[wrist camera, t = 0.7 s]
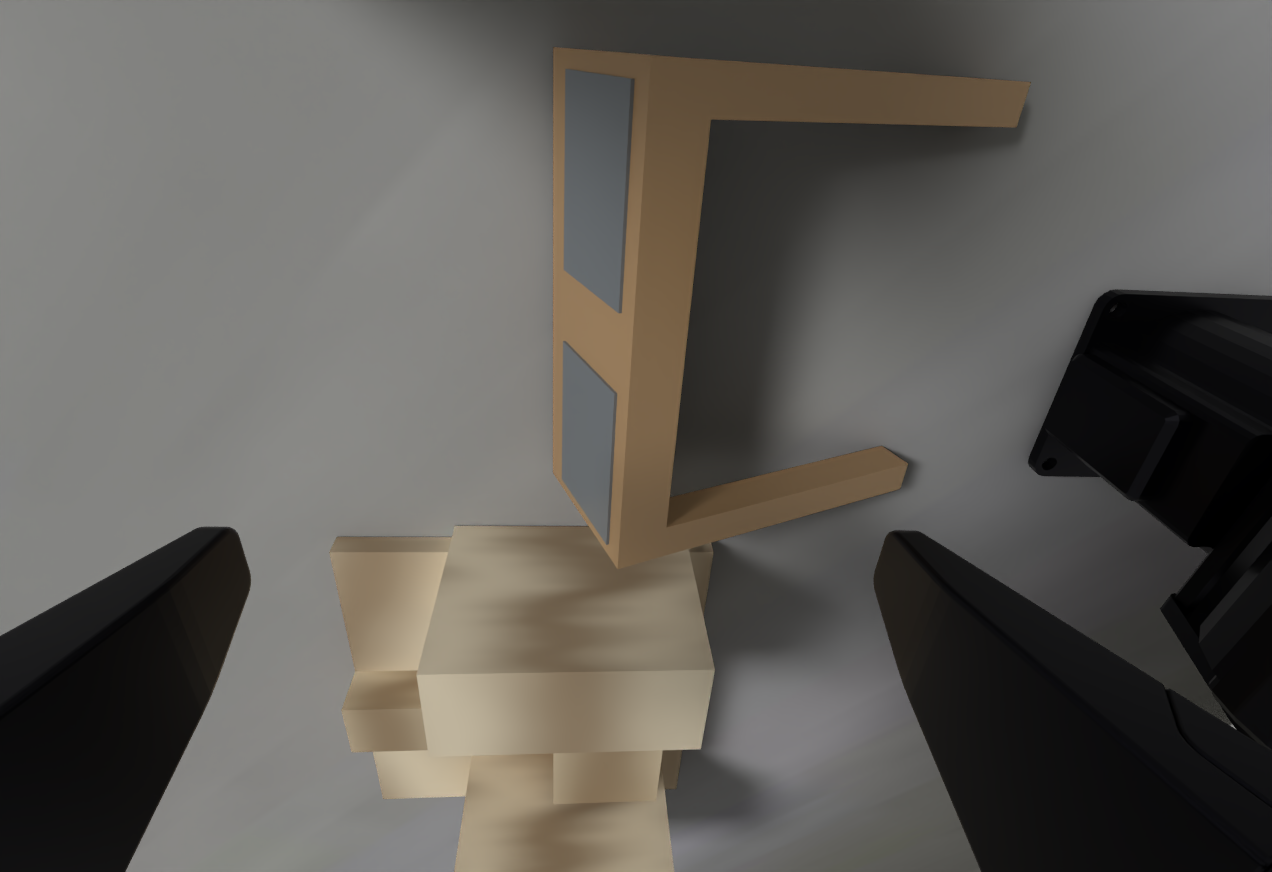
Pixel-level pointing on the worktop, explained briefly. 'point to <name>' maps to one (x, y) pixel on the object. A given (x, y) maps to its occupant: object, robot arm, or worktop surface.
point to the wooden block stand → (529, 688)
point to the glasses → (684, 277)
